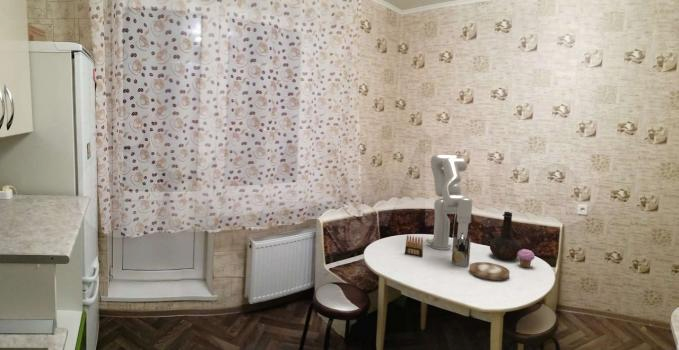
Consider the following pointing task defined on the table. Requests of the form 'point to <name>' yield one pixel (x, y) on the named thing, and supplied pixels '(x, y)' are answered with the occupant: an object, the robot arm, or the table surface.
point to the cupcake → (525, 257)
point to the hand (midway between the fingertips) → (461, 248)
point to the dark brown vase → (505, 241)
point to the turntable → (489, 270)
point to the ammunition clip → (414, 247)
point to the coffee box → (459, 256)
